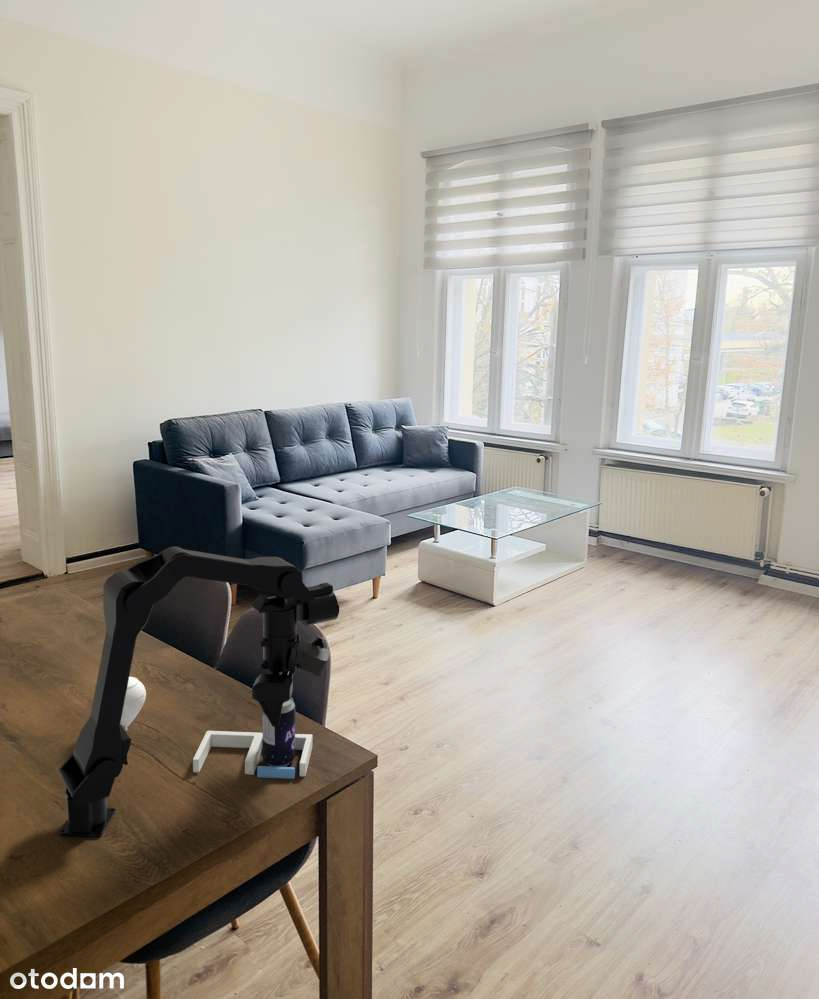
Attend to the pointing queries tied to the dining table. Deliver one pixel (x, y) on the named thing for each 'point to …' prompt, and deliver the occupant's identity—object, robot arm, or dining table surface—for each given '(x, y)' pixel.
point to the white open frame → (253, 752)
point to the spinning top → (133, 701)
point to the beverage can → (280, 737)
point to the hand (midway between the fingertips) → (280, 713)
